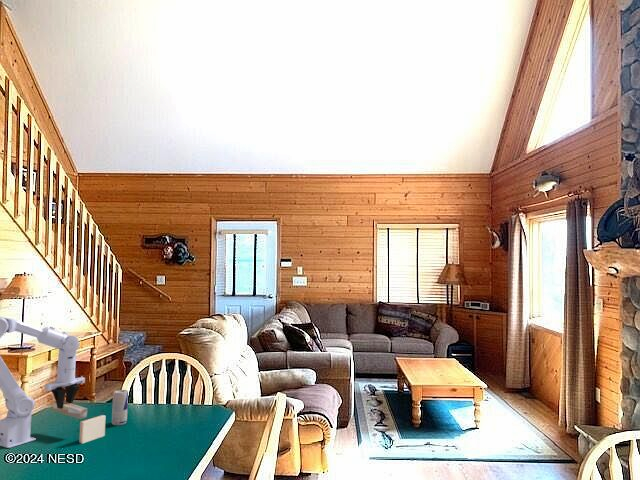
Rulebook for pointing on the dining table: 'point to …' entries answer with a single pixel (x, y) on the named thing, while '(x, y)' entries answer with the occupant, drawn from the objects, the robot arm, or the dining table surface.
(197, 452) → the dining table surface
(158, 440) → the dining table surface
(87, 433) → the tile
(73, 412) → the grey and tan bar
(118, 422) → the energy drink
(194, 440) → the dining table surface
